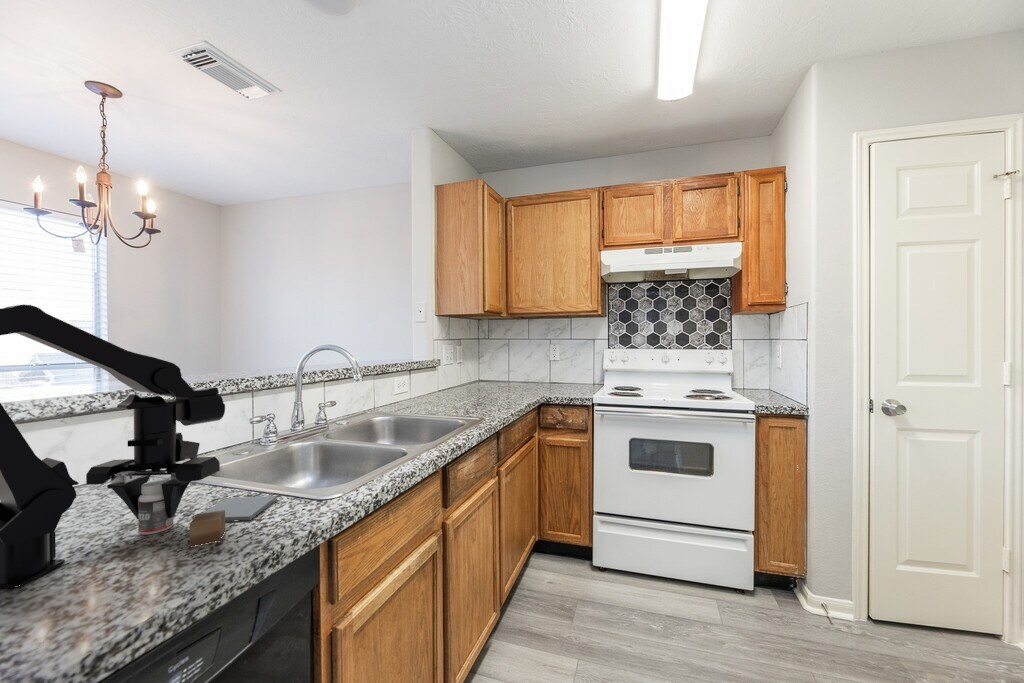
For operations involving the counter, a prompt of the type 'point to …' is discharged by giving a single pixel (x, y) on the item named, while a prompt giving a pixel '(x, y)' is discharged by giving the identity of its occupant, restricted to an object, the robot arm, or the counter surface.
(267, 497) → the coaster
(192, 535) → the walnut block
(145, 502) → the pill bottle
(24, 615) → the counter surface
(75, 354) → the robot arm
